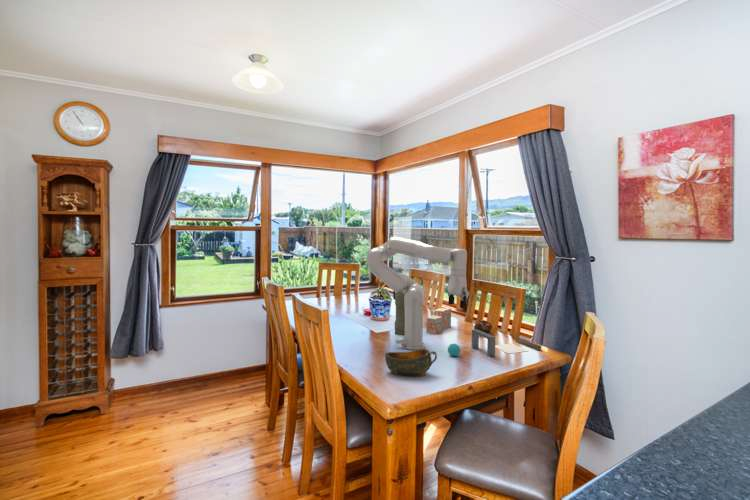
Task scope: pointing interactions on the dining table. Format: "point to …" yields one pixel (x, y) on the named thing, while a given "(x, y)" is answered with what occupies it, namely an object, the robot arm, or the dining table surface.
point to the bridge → (490, 342)
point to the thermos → (399, 313)
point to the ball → (453, 349)
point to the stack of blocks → (439, 321)
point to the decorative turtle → (483, 326)
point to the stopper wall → (528, 344)
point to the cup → (409, 362)
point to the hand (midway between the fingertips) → (456, 306)
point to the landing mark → (510, 348)
